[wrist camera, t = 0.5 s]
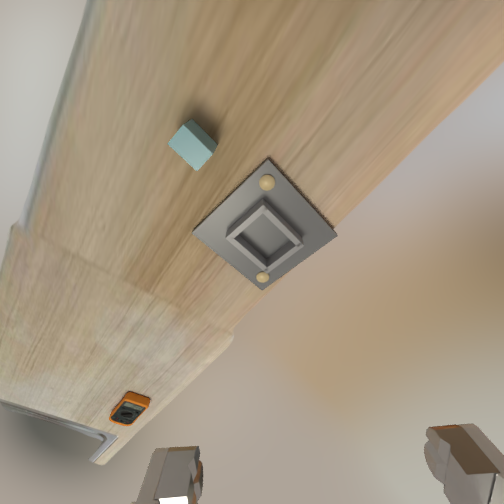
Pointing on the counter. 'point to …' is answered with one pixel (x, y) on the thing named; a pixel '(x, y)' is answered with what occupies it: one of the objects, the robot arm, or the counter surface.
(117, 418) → the multimeter
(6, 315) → the counter surface
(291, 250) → the housing
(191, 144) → the block
